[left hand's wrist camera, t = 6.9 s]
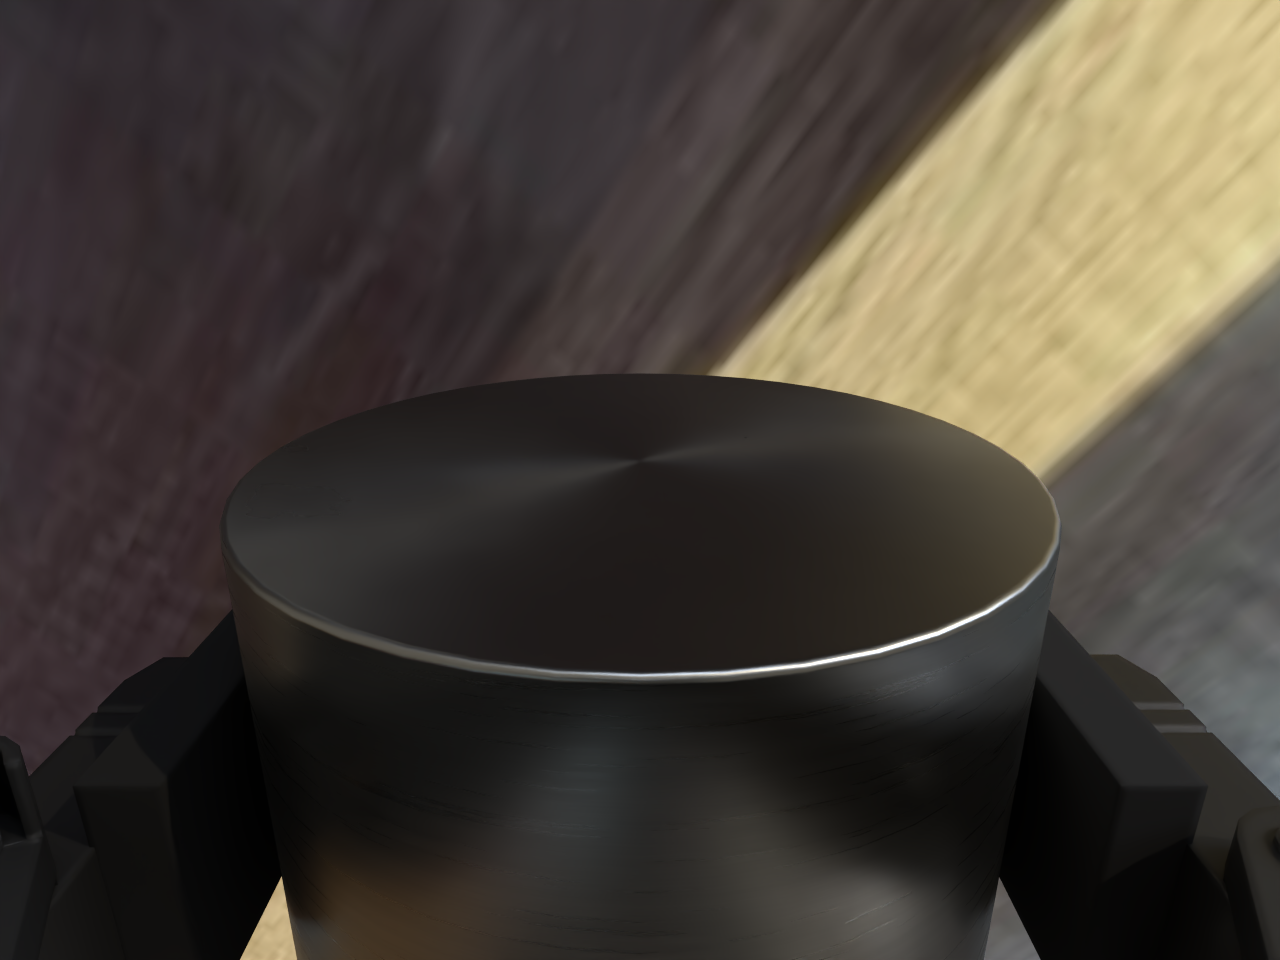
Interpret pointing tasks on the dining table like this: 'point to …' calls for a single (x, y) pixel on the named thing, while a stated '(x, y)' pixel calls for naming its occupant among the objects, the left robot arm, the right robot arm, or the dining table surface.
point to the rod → (640, 671)
